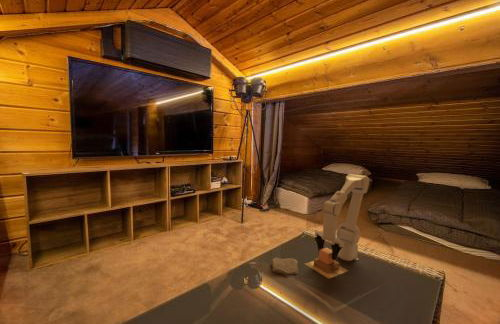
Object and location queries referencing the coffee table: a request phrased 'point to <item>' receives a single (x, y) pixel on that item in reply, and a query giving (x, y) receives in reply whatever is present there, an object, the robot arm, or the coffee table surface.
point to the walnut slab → (326, 266)
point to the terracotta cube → (326, 256)
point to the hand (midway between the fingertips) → (327, 255)
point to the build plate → (329, 275)
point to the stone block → (285, 266)
